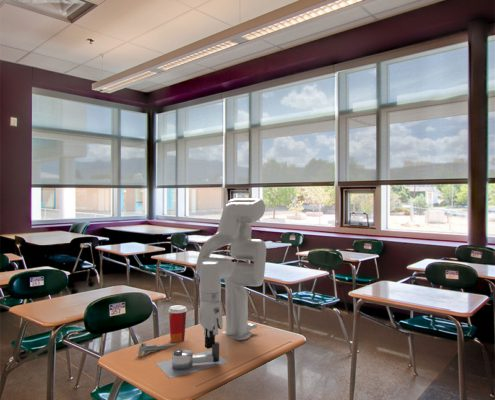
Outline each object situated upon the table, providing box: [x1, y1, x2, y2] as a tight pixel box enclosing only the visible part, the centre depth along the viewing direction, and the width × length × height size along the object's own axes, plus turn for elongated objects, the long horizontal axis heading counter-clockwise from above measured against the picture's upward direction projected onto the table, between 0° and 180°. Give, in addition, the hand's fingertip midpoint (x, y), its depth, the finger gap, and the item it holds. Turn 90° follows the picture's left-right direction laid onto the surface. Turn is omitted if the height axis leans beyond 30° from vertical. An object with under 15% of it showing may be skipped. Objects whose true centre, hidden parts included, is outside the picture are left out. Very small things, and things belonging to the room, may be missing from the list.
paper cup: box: [167, 304, 188, 344], centre depth 156 cm, size 8×8×14 cm
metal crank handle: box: [171, 341, 220, 370], centre depth 130 cm, size 16×7×7 cm, turn 101°
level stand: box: [155, 349, 229, 379], centre depth 132 cm, size 22×13×2 cm, turn 123°
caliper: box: [137, 342, 178, 358], centre depth 144 cm, size 20×1×6 cm, turn 136°
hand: (209, 347), depth 134 cm, fingers closed
